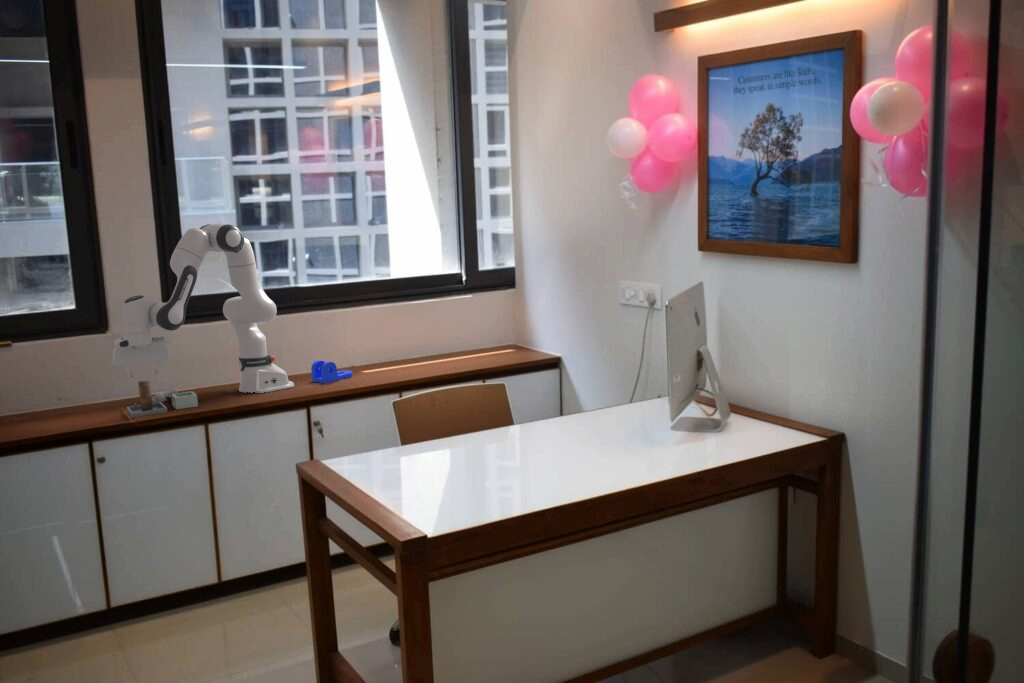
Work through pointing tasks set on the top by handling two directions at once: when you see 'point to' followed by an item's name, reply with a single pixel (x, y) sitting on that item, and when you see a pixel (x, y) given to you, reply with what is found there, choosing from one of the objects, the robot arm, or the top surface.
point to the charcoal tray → (136, 411)
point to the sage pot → (184, 400)
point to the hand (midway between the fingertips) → (143, 375)
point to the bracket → (327, 372)
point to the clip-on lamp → (163, 396)
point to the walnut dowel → (145, 395)
